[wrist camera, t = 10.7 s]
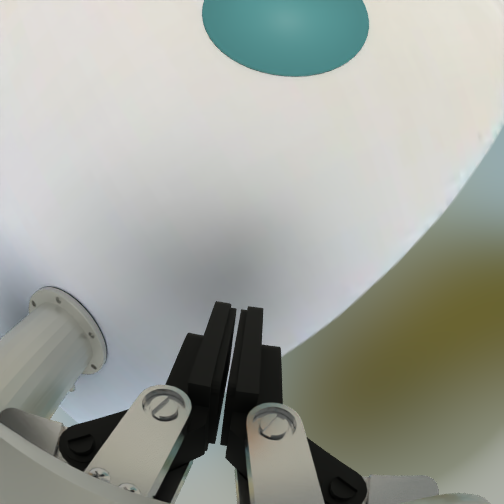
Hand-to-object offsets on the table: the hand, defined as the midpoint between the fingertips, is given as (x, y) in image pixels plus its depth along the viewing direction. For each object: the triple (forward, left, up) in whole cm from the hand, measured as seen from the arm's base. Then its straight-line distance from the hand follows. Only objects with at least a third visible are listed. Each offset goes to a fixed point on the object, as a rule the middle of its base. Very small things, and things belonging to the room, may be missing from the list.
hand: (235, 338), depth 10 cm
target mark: (+20, +4, -13) cm, 24 cm away
